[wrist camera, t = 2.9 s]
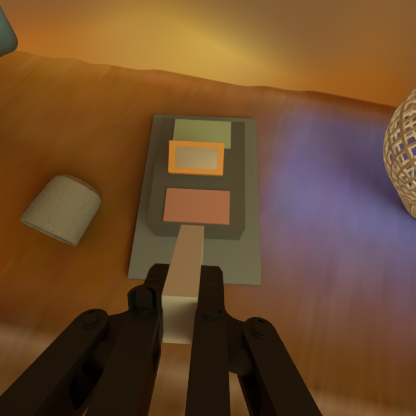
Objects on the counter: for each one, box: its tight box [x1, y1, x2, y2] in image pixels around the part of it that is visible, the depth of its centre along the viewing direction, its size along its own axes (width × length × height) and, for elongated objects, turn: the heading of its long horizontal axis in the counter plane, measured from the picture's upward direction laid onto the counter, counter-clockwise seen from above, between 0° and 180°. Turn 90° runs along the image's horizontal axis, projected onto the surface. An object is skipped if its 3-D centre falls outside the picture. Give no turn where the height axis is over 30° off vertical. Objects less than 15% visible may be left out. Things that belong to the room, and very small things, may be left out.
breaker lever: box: [168, 140, 224, 176], centre depth 29 cm, size 3×5×9 cm, turn 87°
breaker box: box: [128, 114, 261, 286], centre depth 37 cm, size 28×18×8 cm, turn 177°
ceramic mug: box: [19, 174, 102, 246], centre depth 36 cm, size 11×8×8 cm
